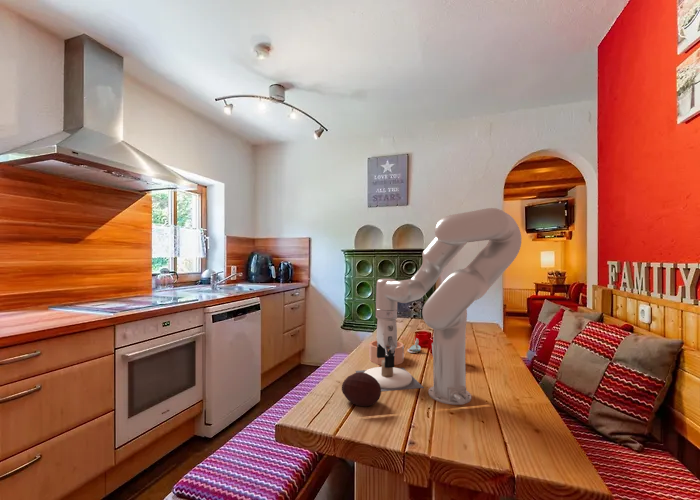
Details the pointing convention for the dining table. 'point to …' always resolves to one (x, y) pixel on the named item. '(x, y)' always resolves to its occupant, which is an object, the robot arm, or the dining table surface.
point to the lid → (390, 376)
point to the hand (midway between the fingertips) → (385, 362)
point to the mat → (413, 385)
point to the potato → (361, 389)
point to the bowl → (398, 351)
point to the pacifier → (415, 347)
